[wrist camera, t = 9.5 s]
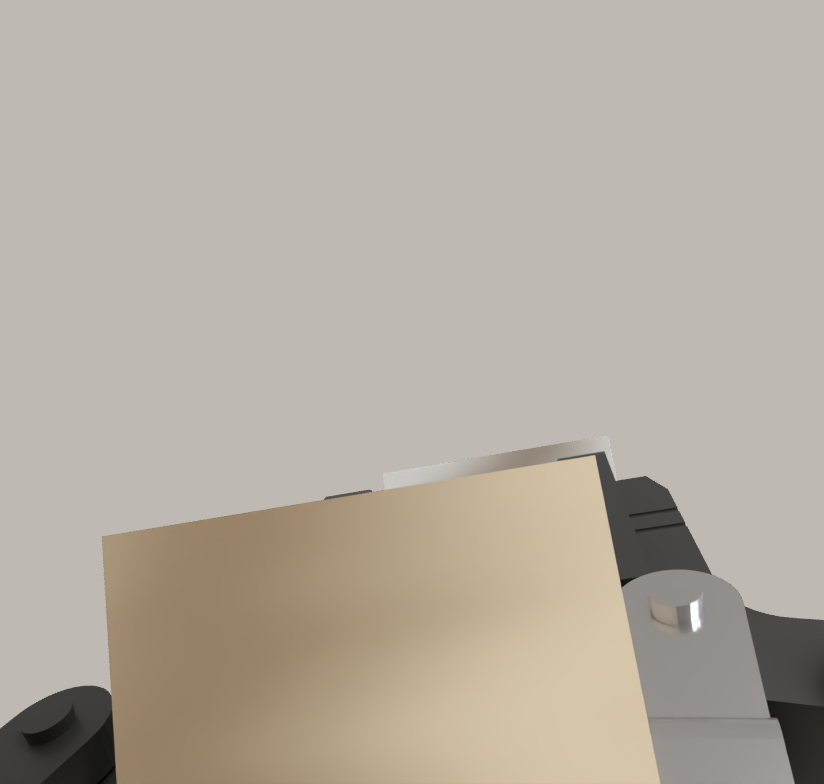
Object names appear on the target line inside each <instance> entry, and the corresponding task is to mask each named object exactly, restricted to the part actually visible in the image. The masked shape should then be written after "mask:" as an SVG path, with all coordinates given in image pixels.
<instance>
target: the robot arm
mask: <svg viewBox="0 0 824 784" xmlns="http://www.w3.org/2000/svg"><path fill="white" fill-rule="evenodd" d="M593 455H595V457H596V462H597V467H598V472H599V477H600V482H601V487H602V492H603V497H604V502H605V507H606V512H607V517H608V522H609V527H610V532H611V537H612V543H613V548H614V553H615V558H616V563H617V568H618V573H619V578H620V583H621V588H622V593H623V598H624V603H625V608H626V613H627V618H628V623H629V628H630V633H631V638H632V643H633V648H634V653H635V658H636V663H637V668H638V673H639V678H640V684H641V689H642V694H643V699H644V704H645V709H646V714H647V719H648V724H649V729H650V734H651V739H652V744H653V749H654V754H655V759H656V764H657V769H658V774H659V779H660V784H824V620H814V619H798V618H788V617H779V616H774V615H769V614H765V613H761V612H758V611H755V610H752V609H750V608H747V607H745V606H744V603H743V600H742V597H741V595H740V594H739V592H738V591H737V590H736V589H735V588H734V587H733V586H732V585H731V584H729V583H728V582H726V581H724V580H723V579H721V578H718V577H716V576H714V575H712V574H711V572H710V570H709V568H708V566H707V564H706V562H705V560H704V558H703V556H702V555H701V553H700V551H699V549H698V547H697V545H696V543H695V541H694V539H693V537H692V535H691V533H690V531H689V529H688V527H687V526H686V525H685V522H684V520H683V518H682V516H681V514H680V512H679V511H678V509H677V506H676V504H675V502H674V500H673V498H672V496H671V494H670V493H669V491H668V489H666V488H665V487H663V486H661V485H660V484H658V483H656V482H655V481H653V480H651V479H650V478H648V477H646V476H644V477H637V478H631V479H626V480H619V481H616V480H615V478H614V475H613V472H612V470H611V467H610V465H609V462H608V459H607V457H606V454H605V452H604V451H602V452H596V453H590V454H584V455H578V456H572V457H566V458H560V459H557V461H563V460H569V459H575V458H581V457H587V456H593ZM369 492H372V491H371V490H366V491H359V492H353V493H347V494H341V495H335V496H329V497H326V498H325V499H324V500H327V499H333V498H339V497H345V496H351V495H357V494H363V493H369ZM0 784H117V779H116V762H115V746H114V729H113V713H112V696H111V695H110V693H109V692H108V691H107V690H105V689H104V688H101V687H97V686H80V687H74V688H71V689H66V690H63V691H60V692H58V693H55V694H52V695H50V696H48V697H46V698H44V699H42V700H40V701H38V702H36V703H35V704H33V705H31V706H30V707H28V708H27V709H25V710H24V711H22V712H21V713H20V714H18V715H17V716H16V717H14V718H13V719H12V720H11V721H10V722H8V723H7V724H6V725H4V726H3V727H2V728H1V729H0Z"/></svg>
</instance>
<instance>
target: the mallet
mask: <svg viewBox="0 0 824 784" xmlns="http://www.w3.org/2000/svg"><path fill="white" fill-rule="evenodd" d="M602 451H604V452H605V454H606V457H607V459H608V462H609V465H610V467H611V470H612V472H613V475H614V478H615V480H616V481H617V476H616V471H615V466H614V461H613V456H612V452H611V446H610V442H609V436H602V437H596V438H590V439H584V440H579V441H573V442H567V443H561V444H555V445H549V446H543V447H537V448H531V449H525V450H519V451H513V452H507V453H501V454H496V455H490V456H484V457H478V458H472V459H466V460H460V461H454V462H448V463H442V464H436V465H430V466H425V467H418V468H412V469H407V470H401V471H395V472H389V473H383V480H384V487H385V490H381V491H376V492H369V493H363V494H357V495H351V496H345V497H339V498H333V499H327V500H321V501H315V502H309V503H303V504H297V505H291V506H285V507H278V508H272V509H267V510H260V511H254V512H248V513H242V514H236V515H230V516H224V517H218V518H212V519H207V520H200V521H194V522H188V523H182V524H176V525H170V526H163V527H157V528H152V529H146V530H139V531H133V532H127V533H122V534H115V535H109V536H103V537H102V546H103V563H104V580H105V596H106V612H107V629H108V646H109V663H110V679H111V694H112V695H111V696H112V713H113V729H114V746H115V762H116V779H117V784H660V779H659V774H658V769H657V764H656V759H655V754H654V749H653V744H652V739H651V734H650V729H649V724H648V719H647V714H646V709H645V704H644V699H643V694H642V689H641V684H640V678H639V673H638V668H637V663H636V658H635V653H634V648H633V643H632V638H631V633H630V628H629V623H628V618H627V613H626V608H625V603H624V598H623V593H622V588H621V583H620V578H619V573H618V568H617V563H616V558H615V553H614V548H613V543H612V537H611V532H610V527H609V522H608V517H607V512H606V507H605V502H604V497H603V492H602V487H601V482H600V477H599V472H598V467H597V462H596V457H595V455H593V456H587V457H581V458H575V459H569V460H563V461H557V459H560V458H566V457H572V456H578V455H584V454H590V453H596V452H602Z"/></svg>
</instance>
